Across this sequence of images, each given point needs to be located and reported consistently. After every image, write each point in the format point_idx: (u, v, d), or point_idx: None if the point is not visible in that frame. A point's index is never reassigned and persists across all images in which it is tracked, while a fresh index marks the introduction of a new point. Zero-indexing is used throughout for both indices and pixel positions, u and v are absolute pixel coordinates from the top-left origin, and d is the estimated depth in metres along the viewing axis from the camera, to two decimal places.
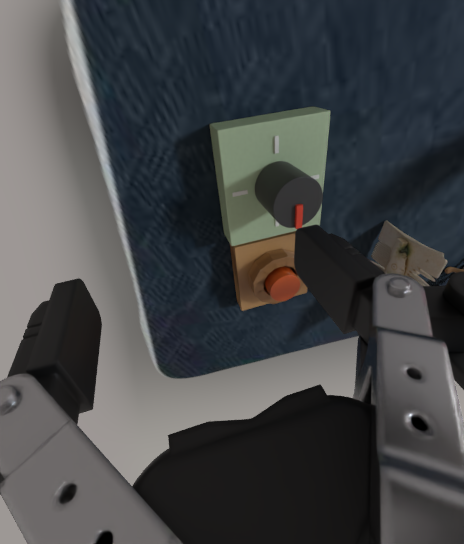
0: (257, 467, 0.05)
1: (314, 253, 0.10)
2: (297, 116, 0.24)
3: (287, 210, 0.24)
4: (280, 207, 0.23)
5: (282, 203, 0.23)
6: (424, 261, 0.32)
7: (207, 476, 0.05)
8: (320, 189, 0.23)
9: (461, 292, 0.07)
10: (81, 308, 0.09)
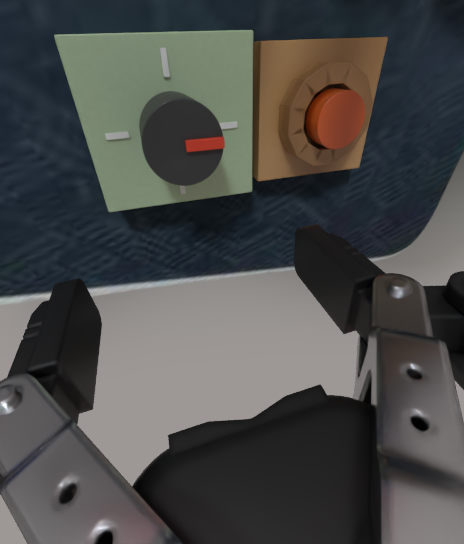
0: (257, 467, 0.05)
1: (314, 253, 0.10)
2: (75, 101, 0.17)
3: (193, 163, 0.16)
4: (187, 175, 0.16)
5: (181, 172, 0.16)
6: None
7: (207, 476, 0.05)
8: (163, 106, 0.14)
9: (461, 292, 0.07)
10: (81, 308, 0.09)
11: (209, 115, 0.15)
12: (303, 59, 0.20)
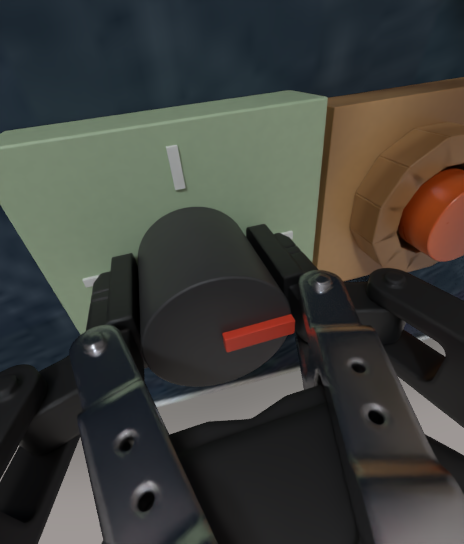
0: (257, 467, 0.05)
1: (258, 251, 0.10)
2: (26, 243, 0.10)
3: (236, 356, 0.09)
4: (225, 371, 0.09)
5: (215, 371, 0.09)
6: None
7: (207, 476, 0.05)
8: (180, 297, 0.07)
9: (377, 287, 0.08)
10: (136, 278, 0.10)
11: (269, 291, 0.08)
12: (399, 125, 0.12)
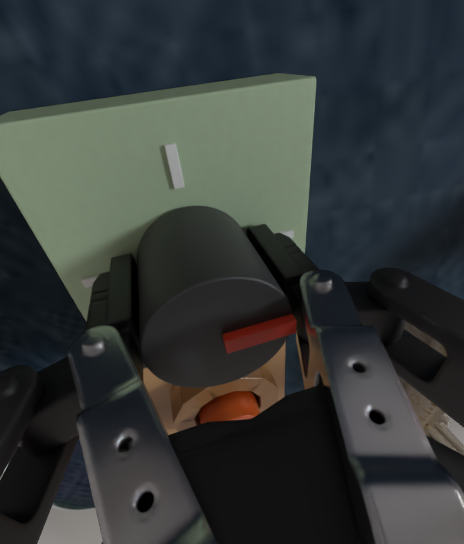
0: (257, 467, 0.05)
1: (259, 251, 0.10)
2: (224, 91, 0.09)
3: (237, 357, 0.09)
4: (227, 372, 0.09)
5: (217, 372, 0.09)
6: None
7: (207, 476, 0.05)
8: (178, 299, 0.07)
9: (378, 287, 0.08)
10: (135, 279, 0.10)
11: (269, 291, 0.08)
12: None
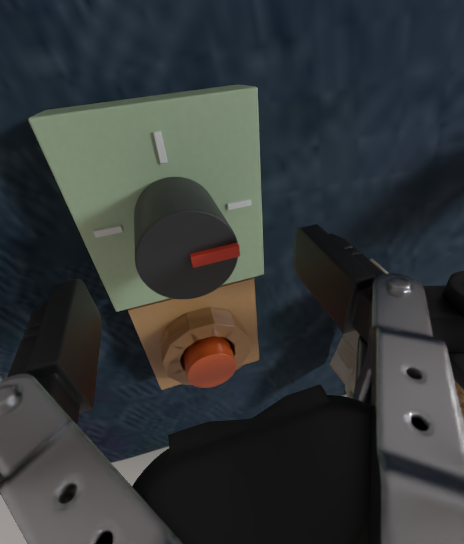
0: (257, 467, 0.05)
1: (314, 253, 0.10)
2: (194, 96, 0.13)
3: (201, 275, 0.13)
4: (195, 288, 0.13)
5: (188, 286, 0.13)
6: None
7: (207, 476, 0.05)
8: (159, 223, 0.11)
9: (461, 292, 0.07)
10: (81, 308, 0.09)
11: (219, 223, 0.12)
12: (243, 313, 0.23)
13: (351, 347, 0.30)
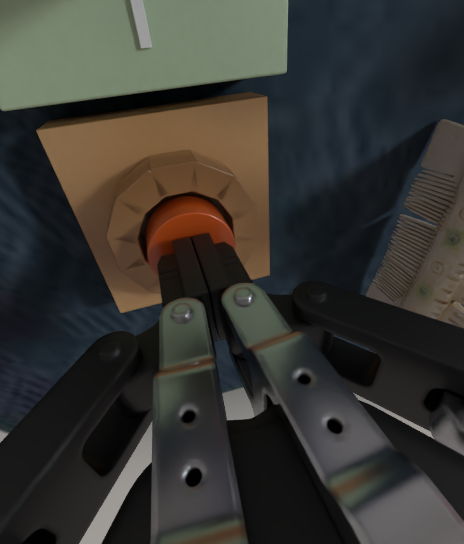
0: (257, 467, 0.05)
1: (198, 261, 0.10)
2: None
3: None
4: None
5: None
6: None
7: None
8: None
9: (297, 302, 0.07)
10: None
11: None
12: (247, 175, 0.14)
13: (400, 268, 0.21)
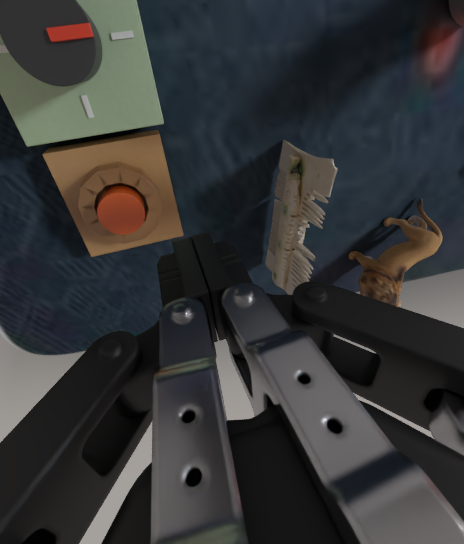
0: (257, 467, 0.05)
1: (198, 261, 0.10)
2: None
3: (65, 57, 0.15)
4: (62, 72, 0.16)
5: (55, 69, 0.16)
6: (315, 177, 0.24)
7: None
8: None
9: (297, 302, 0.07)
10: None
11: None
12: (156, 174, 0.25)
13: (276, 234, 0.32)
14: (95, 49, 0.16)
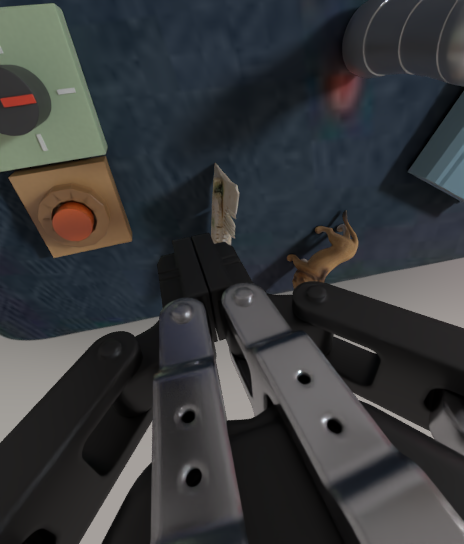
0: (257, 467, 0.05)
1: (198, 261, 0.10)
2: (11, 7, 0.21)
3: (15, 117, 0.21)
4: (14, 126, 0.22)
5: (8, 125, 0.22)
6: (228, 198, 0.30)
7: None
8: None
9: (297, 302, 0.07)
10: None
11: (14, 77, 0.20)
12: (104, 192, 0.31)
13: None
14: (38, 110, 0.22)
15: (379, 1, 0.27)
